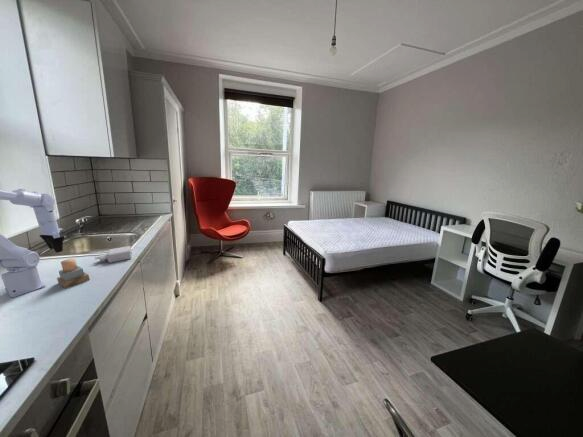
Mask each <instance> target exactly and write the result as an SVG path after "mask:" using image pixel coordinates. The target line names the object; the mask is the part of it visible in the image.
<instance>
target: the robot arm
mask: <svg viewBox="0 0 583 437" xmlns="http://www.w3.org/2000/svg"><path fill="white" fill-rule="evenodd" d="M0 200H4V201H9V202H10V203H11V204H12V205H17V206H25V207H29V208H33V211H34V216H35V218H36V220H37V224H38V227H39V229H40V235H39V237H40V238H41V239H42V240H43V241H44V243H45V244H46V246H47V247H48V248H49V249H50V250H54V252H55V253H61V252H63V250H64V249H63V247H64V245H63V243H64V240H65V235H60V232H61V231H63V230H64V228H61V227H60V228H59V225H58V221H57V218H56V215H55V211H54V210H55V207H54V206H55V201H56V200H55V198H54V197H53V196H52V195H50V194H49V193H38V191H26V189H24V188H18V189H15V190H12V191H9V190H8V191H7V190H3V189H0ZM40 259H41V258H40V255H39V253H38V252H37V251H32V250H29V249H28V248H27V247H24V246H23V247H22V246H20V245H16V244H15V243H14V242H12V241H11V240H9V239H8V238H6V237H5V236H4V235H3V234H1V233H0V267H1V268H2V269H5V270H6V272H3V273H1V274H0V276H1V280H2V282H3V286H4V290H5V292H6V293H7V294H8V296H9V297H10V298H15V297H19V296H21V295H25V294H26V293H30V292H32V291H36V290H39V289H42V288H45V287H46V284H45V283H44V282H42V280H41V277H40V274H39V271H38V268H37V266H38V264H39V263H40Z"/></svg>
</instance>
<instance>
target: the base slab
mask: <svg viewBox="0 0 583 437" xmlns="http://www.w3.org/2000/svg"><path fill="white" fill-rule="evenodd" d="M83 272H84V275H83V276H80V277H77V278H74V279H71V280H68V281H65V280H63V279H62V278H60V276H58V277H56V280H57V283H58V284H59V285H60V286H61V287H62V288H64V289H68V288H71V287H73V286H77V285H80V284H82V283H85V282H89V281H90V280H91V279H90V276H89V274H88V273H86V272H85V271H83Z"/></svg>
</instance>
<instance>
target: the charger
mask: <svg viewBox="0 0 583 437" xmlns="http://www.w3.org/2000/svg"><path fill="white" fill-rule="evenodd" d="M132 256H133V255H132V247H131V245H127V246H122V247H115V248H111V249H108V250H107V253H104V254H100V255H99V256H97V257H94V259H95V260H99V261H107V263H115V262H120V261H121V262H122V261H126V260H130V259H132Z"/></svg>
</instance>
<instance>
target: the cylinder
mask: <svg viewBox="0 0 583 437" xmlns="http://www.w3.org/2000/svg"><path fill="white" fill-rule="evenodd" d="M60 264H61V268H62V270H63V272H71V271H74V270H76V269H77V266H78V265H77V261H76V258H67V259H65V260H62V261H61V262H60Z"/></svg>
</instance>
